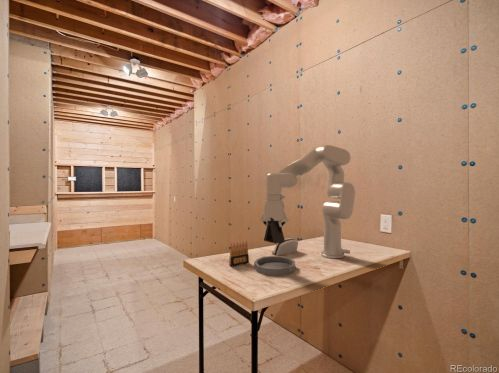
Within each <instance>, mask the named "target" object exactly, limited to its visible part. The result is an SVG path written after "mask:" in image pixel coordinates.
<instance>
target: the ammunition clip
mask: <svg viewBox="0 0 499 373" xmlns="http://www.w3.org/2000/svg"><path fill="white" fill-rule="evenodd" d="M228 261H229V262H228V263H229V265H228V266H229V267H231V268H232V266H233V267H238V266H241V265H242V264H243V265H246V264H247V263H248V264H249V263H250V258H249V248H248V241H247V240H245V241H244V240H242V242H241V241H239V242H238V241H237V242H236V243H235V242H233V243H232V242H231V243H230V249H229V260H228ZM237 265H238V266H237ZM243 265H242V266H243Z"/></svg>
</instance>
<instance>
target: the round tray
mask: <svg viewBox="0 0 499 373" xmlns="http://www.w3.org/2000/svg"><path fill="white" fill-rule="evenodd" d="M253 263H254V264H253V265H254V266H253V268H254V271H256V273H259V274H263V275H266V276H273V277H274V276H276V277H279V276H287V275H290V274H293V273H294V272H296V261H295V260H293V259H292V258H289V257H285V256H282V255H279V256H276V255H269V256H263V257H259V258H257V259H256V258H255V260H254V262H253Z"/></svg>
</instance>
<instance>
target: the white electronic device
mask: <svg viewBox="0 0 499 373" xmlns="http://www.w3.org/2000/svg"><path fill="white" fill-rule="evenodd" d="M284 239H285V242H281V243H277V244H275V246H274V249H273V250H272V251H271V255H275V256H282V255H286V254H290V253H294V252H297V250H298V245H299V241H298V240H297V239H295V238H290V237H288V238H284Z"/></svg>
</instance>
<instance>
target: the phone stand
mask: <svg viewBox="0 0 499 373" xmlns="http://www.w3.org/2000/svg"><path fill="white" fill-rule="evenodd" d="M270 219H271V221H270V222H269V221H268V224H267V227H265V228H266V230H265V233H264V238H263V241H264V242H268V243H271V244H275V245H276V244H277V243H281V242H285V239H286V238H285V236H284V232H283V231H282V233H281V232H280V233H279V231H278V228H279V222H278V221H274V219H273V218H270ZM269 227H270V235H268V229H269Z"/></svg>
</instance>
